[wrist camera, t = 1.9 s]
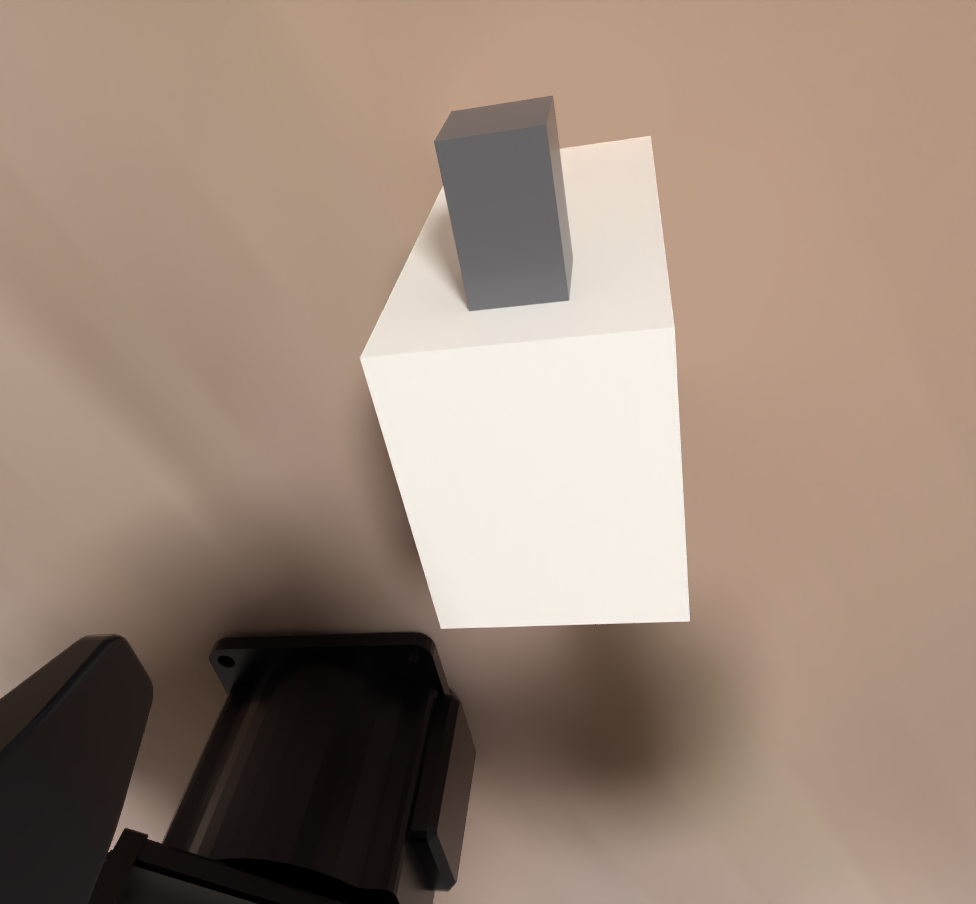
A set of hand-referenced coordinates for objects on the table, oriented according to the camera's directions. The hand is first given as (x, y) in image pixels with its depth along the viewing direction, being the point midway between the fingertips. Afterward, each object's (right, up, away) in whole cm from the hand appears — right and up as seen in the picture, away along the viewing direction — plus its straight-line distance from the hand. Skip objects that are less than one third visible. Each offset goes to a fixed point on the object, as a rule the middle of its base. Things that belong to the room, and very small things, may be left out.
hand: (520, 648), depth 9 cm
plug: (+1, +6, +7) cm, 9 cm away
